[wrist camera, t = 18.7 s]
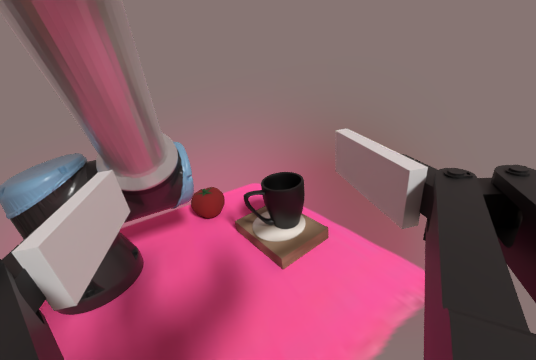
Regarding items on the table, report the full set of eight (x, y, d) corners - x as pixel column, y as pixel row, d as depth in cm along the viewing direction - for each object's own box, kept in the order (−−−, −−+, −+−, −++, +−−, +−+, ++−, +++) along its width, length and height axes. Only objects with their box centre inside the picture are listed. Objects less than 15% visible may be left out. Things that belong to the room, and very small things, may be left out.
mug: (245, 221, 54) (237, 182, 50) (296, 206, 57) (293, 168, 53) (255, 244, 47) (247, 200, 43) (313, 226, 50) (311, 183, 46)
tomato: (216, 224, 60) (209, 197, 57) (189, 220, 63) (181, 195, 60) (231, 206, 66) (226, 181, 63) (206, 203, 69) (200, 180, 66)
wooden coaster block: (236, 230, 56) (234, 220, 55) (278, 208, 63) (276, 198, 61) (283, 269, 45) (281, 257, 43) (328, 237, 51) (328, 226, 49)
